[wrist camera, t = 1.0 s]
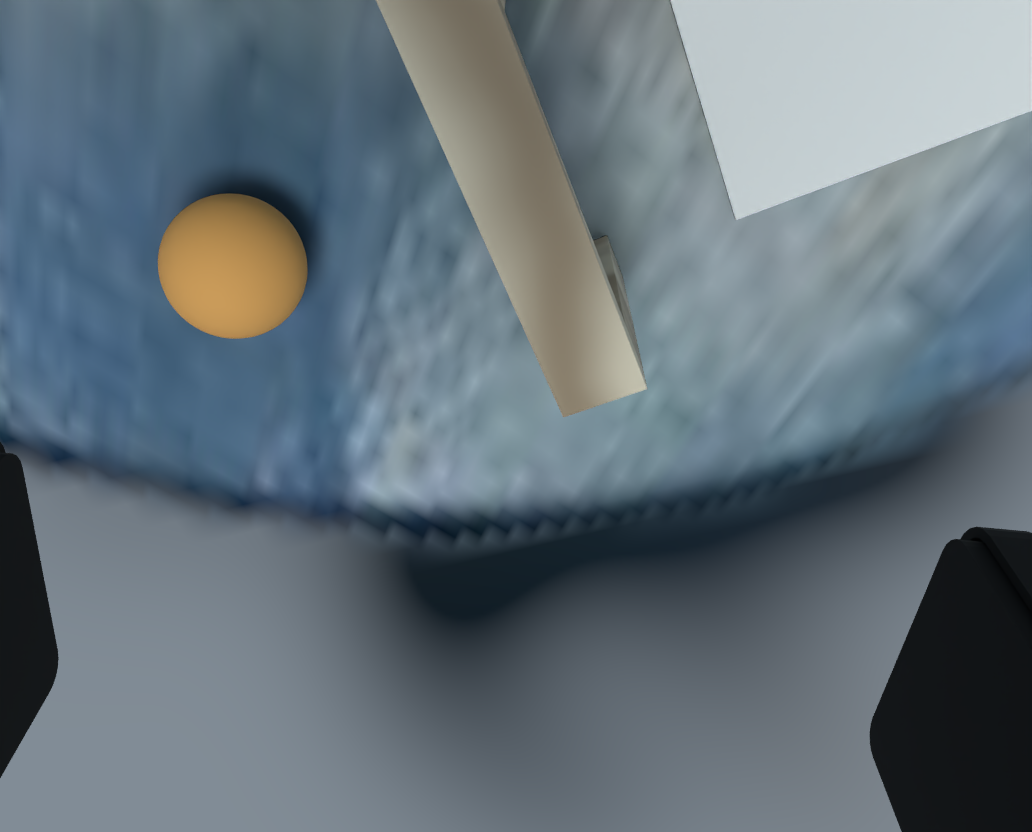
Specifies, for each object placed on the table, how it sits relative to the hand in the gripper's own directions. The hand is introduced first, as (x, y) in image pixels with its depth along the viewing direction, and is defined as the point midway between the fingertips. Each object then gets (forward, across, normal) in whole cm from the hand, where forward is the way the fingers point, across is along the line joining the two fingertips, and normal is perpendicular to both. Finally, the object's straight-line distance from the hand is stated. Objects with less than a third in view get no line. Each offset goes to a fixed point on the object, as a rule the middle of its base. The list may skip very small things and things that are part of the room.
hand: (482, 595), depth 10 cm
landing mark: (+29, -12, -4) cm, 32 cm away
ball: (+27, +10, +8) cm, 30 cm away
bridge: (+29, -1, +2) cm, 29 cm away
